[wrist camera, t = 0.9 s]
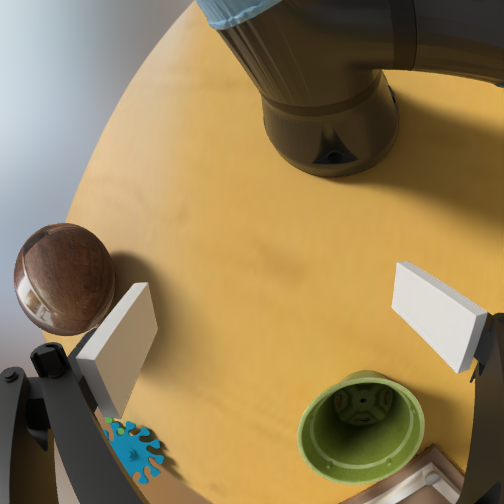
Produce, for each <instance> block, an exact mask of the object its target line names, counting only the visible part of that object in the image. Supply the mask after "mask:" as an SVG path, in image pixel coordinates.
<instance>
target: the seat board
mask: <svg viewBox="0 0 504 504" xmlns="http://www.w3.org/2000/svg"><path fill="white" fill-rule="evenodd" d="M464 478H465V477H464V475H463V474H462V473H461V472H460V471H459V470H458V469H457V468H456V467H455V466H454V465H453V464H452V462H451V461H450V460H449V459H448V458H447V457H446V456H445V455H444V454H443V453H442V452H441V451H440V450H439V448H438V447H437V446H436V445H435V444H434V443H433V444H432V445H431V446H430V447H428V448H427V449H426V450H425V451H423V452H422V453H421V454H419V455H418V456H417V457H415V458H414V459H412V460H411V461H410V462H408V463H407V464H406V465H405V466H404V467H403V468H402V469H400V470H399V471H397V472H396V473H394V474H392V475H391V476H389V477H387V478H385V479H383V480H381V481H379V482H378V483H376V484H374V485H373V486H371V487H369V488H367V489H366V490H364V491H362V492H360V493H358V494H357V495H355V496H353V497H351V498H349V499H347V500H345V501H343V502H341V503H339V504H455V503H456V502H457V500H458V498H459V496H460V494H461V491H462V487H463V483H464Z"/></svg>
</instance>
